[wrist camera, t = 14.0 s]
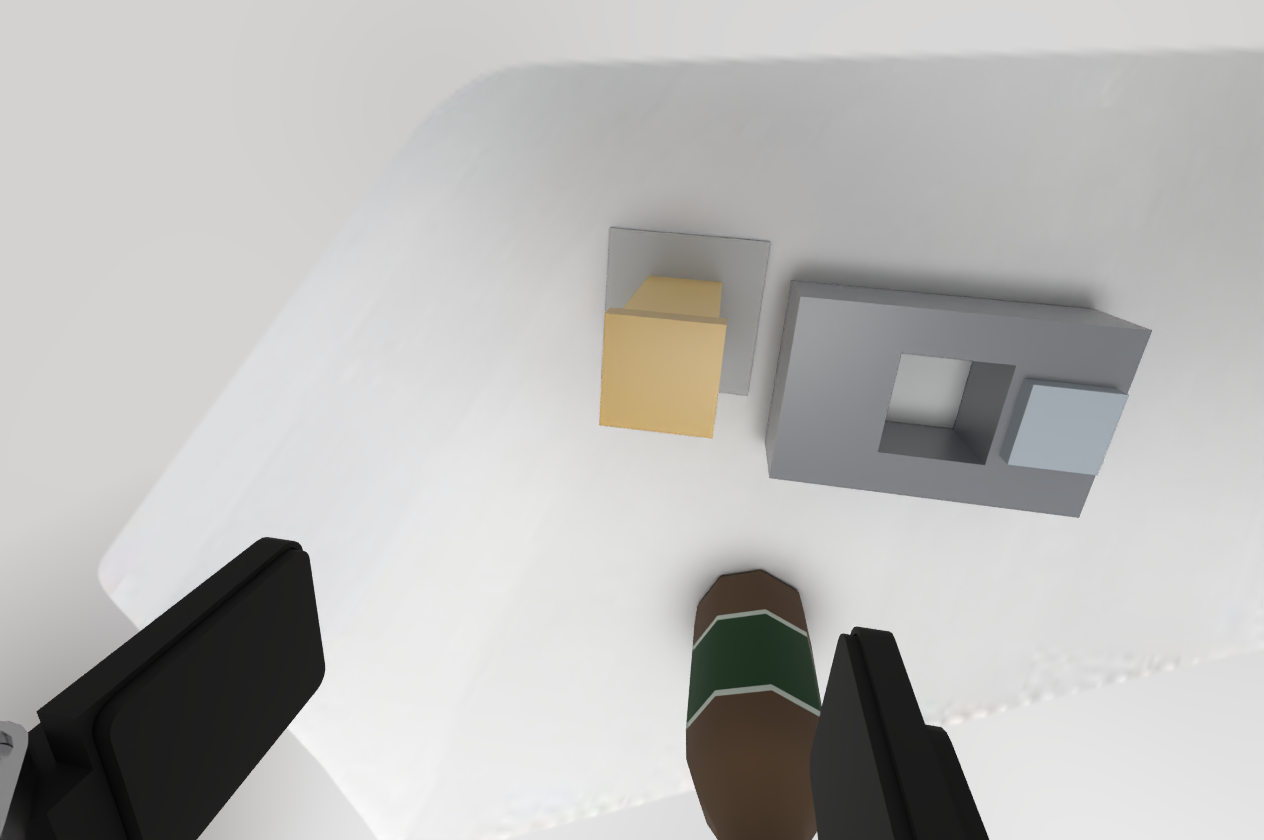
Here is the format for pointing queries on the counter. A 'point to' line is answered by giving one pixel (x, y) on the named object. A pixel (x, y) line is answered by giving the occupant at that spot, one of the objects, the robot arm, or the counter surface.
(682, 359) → the plug
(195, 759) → the robot arm
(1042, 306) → the grey block with hole
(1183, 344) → the counter surface
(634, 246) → the mat
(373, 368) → the counter surface
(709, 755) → the beer bottle
